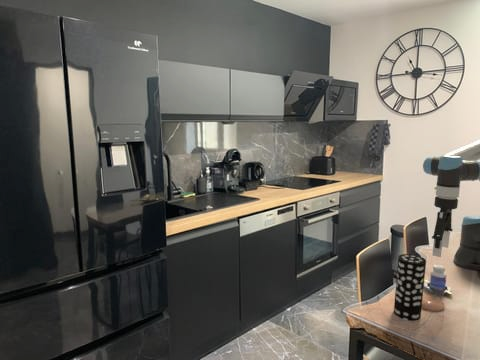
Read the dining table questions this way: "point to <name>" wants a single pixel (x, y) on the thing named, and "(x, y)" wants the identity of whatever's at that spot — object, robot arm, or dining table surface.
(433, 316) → the dining table surface
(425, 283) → the collar
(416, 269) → the spotted tube
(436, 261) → the dining table surface
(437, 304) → the peach disc
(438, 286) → the pill bottle
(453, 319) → the dining table surface
